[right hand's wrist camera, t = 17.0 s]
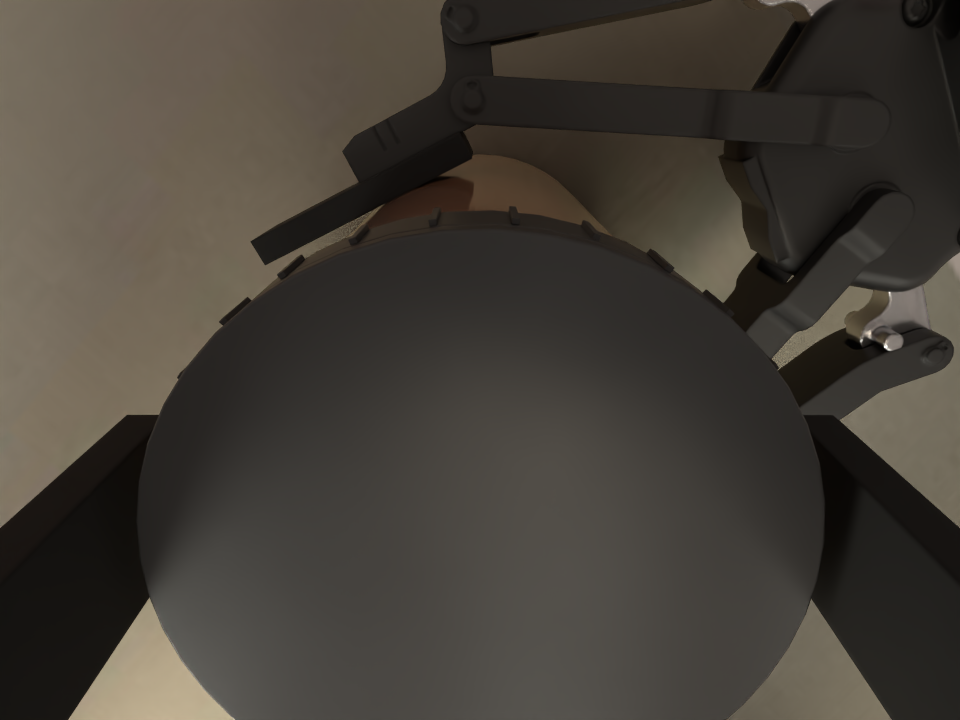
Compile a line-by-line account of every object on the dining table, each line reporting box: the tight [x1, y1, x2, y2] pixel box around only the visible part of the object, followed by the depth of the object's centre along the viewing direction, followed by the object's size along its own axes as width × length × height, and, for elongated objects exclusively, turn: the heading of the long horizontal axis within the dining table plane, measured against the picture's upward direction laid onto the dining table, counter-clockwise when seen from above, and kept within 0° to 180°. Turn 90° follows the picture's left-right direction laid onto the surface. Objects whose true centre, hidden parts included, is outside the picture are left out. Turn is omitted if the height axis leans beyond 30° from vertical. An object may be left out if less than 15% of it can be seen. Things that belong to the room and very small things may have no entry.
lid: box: [136, 206, 825, 720], centre depth 11 cm, size 11×11×2 cm
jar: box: [348, 154, 613, 237], centre depth 19 cm, size 10×10×17 cm
